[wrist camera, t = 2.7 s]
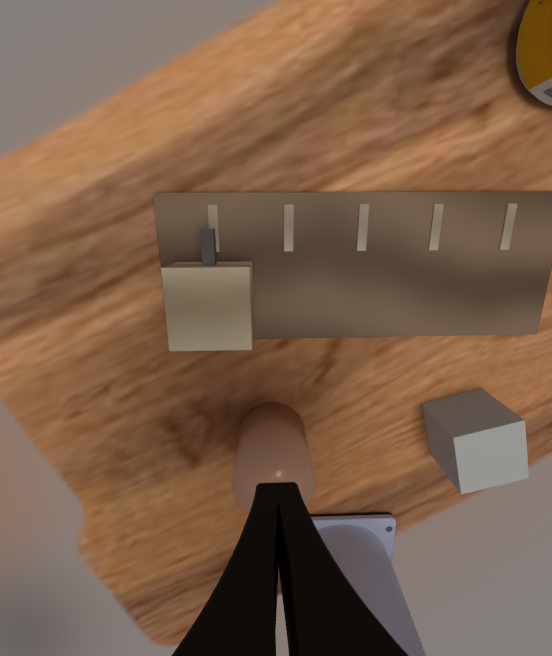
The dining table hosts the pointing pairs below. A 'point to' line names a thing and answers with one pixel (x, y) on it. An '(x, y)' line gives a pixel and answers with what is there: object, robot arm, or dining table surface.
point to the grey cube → (476, 440)
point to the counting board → (375, 258)
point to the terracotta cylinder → (271, 452)
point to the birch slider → (209, 302)
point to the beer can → (536, 50)
